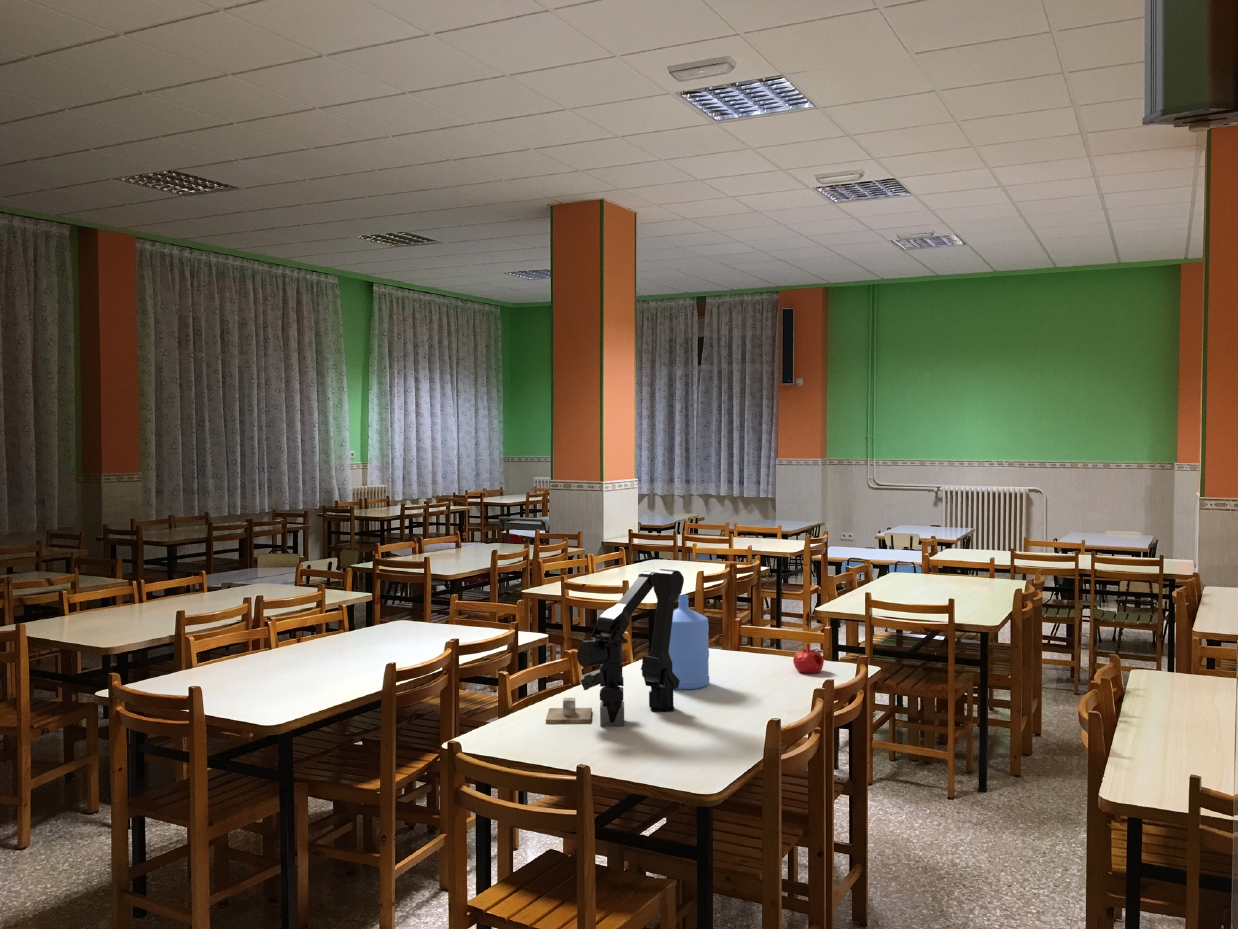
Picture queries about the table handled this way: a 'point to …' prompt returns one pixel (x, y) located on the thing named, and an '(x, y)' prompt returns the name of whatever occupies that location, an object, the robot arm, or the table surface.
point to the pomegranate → (808, 661)
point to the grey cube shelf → (605, 717)
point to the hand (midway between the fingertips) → (612, 719)
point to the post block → (569, 713)
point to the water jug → (689, 647)
